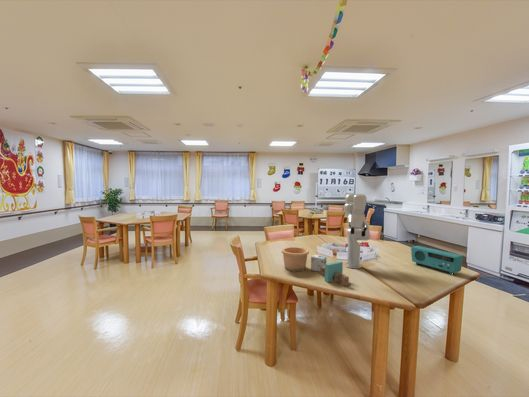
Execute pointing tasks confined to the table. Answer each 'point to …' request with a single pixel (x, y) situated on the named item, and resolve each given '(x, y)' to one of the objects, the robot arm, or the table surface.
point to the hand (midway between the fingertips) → (357, 235)
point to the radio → (437, 258)
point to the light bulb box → (317, 262)
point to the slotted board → (337, 277)
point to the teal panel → (332, 270)
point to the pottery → (295, 258)
